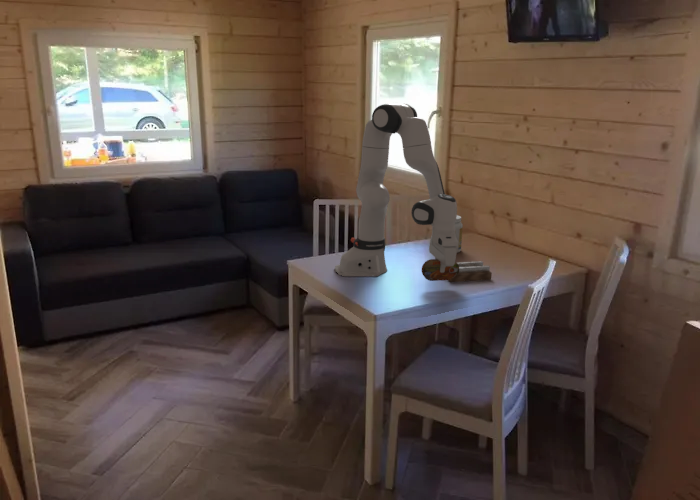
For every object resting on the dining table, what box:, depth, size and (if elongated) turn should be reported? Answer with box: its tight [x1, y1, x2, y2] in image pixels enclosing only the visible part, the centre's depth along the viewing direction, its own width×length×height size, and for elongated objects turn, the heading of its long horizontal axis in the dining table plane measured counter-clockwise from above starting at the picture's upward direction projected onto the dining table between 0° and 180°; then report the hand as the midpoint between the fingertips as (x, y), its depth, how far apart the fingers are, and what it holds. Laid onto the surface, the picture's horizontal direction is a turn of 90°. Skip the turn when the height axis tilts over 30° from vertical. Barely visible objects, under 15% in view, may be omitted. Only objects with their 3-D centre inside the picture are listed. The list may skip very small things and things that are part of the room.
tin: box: [421, 258, 459, 282], centre depth 237 cm, size 15×3×8 cm, turn 101°
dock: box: [448, 260, 492, 283], centre depth 253 cm, size 18×12×5 cm, turn 103°
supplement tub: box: [455, 214, 464, 254], centre depth 288 cm, size 12×12×17 cm
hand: (440, 270), depth 237 cm, fingers closed on tin, 2 cm apart
